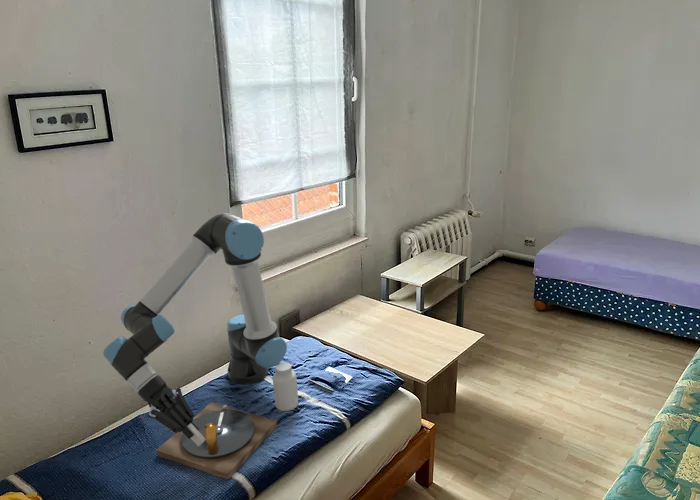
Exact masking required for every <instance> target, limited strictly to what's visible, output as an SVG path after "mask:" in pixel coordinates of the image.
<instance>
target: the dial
mask: <svg viewBox="0 0 700 500" xmlns="http://www.w3.org/2000/svg"><path fill="white" fill-rule="evenodd" d="M237 410H238V409H237ZM237 410H229V409H225V410H216V411H212V412H208V413H206V414H203V415H201V416H199V417H197V418H195V419H194V420H193V421H192V422H193V423H194V424H195V425H196V426H197V428H198V429H199V430H198V431H199V432H200V433H201V434H202V436H203V437H204V438H205V439H206V440H205V441H204V442H203V443H202V444H201V445H200V446H197V445H196V443H195V442H194V441H193V440H192V439H191V438H190V439H189V438H188V437H187V436H186V435H185V434H184V433H183V432H182V436H181V442H182V446H183V448H184V450H185V451H186V452H187V453H188V454H190V455H192V456H194V457H198V458H203V459H214V458H220V457H225V456H228V455H231V454H233V453H235V452H237V451H239V450H240V449H242V448H243V447H245V446H246V445H247V444H248V443H249V442H250V440H251V439H252V437H253V435H254V422H253V420H252V419H251V417H250V416H249V415H247V414H246V413H244V412H241V411H242V410H241V411H237Z"/></svg>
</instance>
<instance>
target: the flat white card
mask: <svg viewBox="0 0 700 500" xmlns="http://www.w3.org/2000/svg"><path fill="white" fill-rule="evenodd" d="M324 371H329V372H334V373H340V374H342V375H343V376H344V377H345V378H346V380H345V382H344V383H346V384H348V382H349V381H350V380H351V379H353V376H352V375H349V374H347V373H345V372H342V371H340V370H337V369H336V368H333V367H331V366H328V367H327V368H326V369H325V370H324ZM333 375H334V374H333ZM336 377H337V375H336ZM308 381H311V382H314V383H315V384H317V385H319V386H322V387H323V388H326V389H327V390H330V391H334V390H333V389H331V388H330V387H328V386H325V385H323V384H321V383H318V382H317V381H315V380H312V379H309V378H308Z"/></svg>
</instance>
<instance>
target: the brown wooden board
mask: <svg viewBox="0 0 700 500" xmlns="http://www.w3.org/2000/svg"><path fill="white" fill-rule="evenodd" d="M225 409H229V410H237V411H241V412H244V413H246V414H247V415H249V416H250V417H251V419H252V420H253V422H254V435H253V437H252V439H251V440H250V442H249V443H248V444H247V445H246V446H245V447H243V448H242V449H240V450H239V451H237V452H235V453H233V454H231V455H228V456H225V457H220V458H214V459H203V458H198V457H194V456H192V455H190V454H188V453H187V452H186V451H185V450H184V448H183V446H182V442H181V436H182V431H181V432H177V433H174V434H173V435H172V436H171V437H169V438H168V439H167V440H166V441H165V442H164V443H163V444H161V445H160V446H159V447H158V448H157V449H156V450H155V451H156V456H158V457H161V458H163V459H166V460H168V461H171V462H175V463H178V464H180V465H184V466H186V467H189V468H192V469H195V470H198V471H201V472H205V473H206V474H210V475H213V476H216V477H218V478H221V477H223V478H222V479H224V478H226V479H225V480H227V479H231V478H232V477H233V475H234V474H235V473H236V472H237V471H238V469H239V468H241V467H242V465H244V463H245V462H246V461H247V460H248V459H249V458H250V456H251V455H252V454H253V453H255V451H256V450H257V449H258V447H259V446H260V445H262V443H263V442H264V441H266V439H267V438H268V437H269V435H270V434H271V433H272V432H273V431H274V430H275V429H276V428H277V426H278V419H277V420H276V419H274V418H273V419H272V418H270V417H267V416H262V415H259V414H255V413H251V412H247V411H244V410H241V409H237V408H233V407H230V406H228V404H220V403H215V402H210V403H209V404H207V405H206V406H205V407H204V408H203V409H202V410H201V411H200V412H198V413H197V414H196V415H194V417H193V420H194V419H195V418H197V417H199V416H201V415H203V414H206V413H208V412H212V411H216V410H225Z"/></svg>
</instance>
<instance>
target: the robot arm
mask: <svg viewBox="0 0 700 500" xmlns="http://www.w3.org/2000/svg"><path fill="white" fill-rule="evenodd" d="M264 243H265V238H264V234H263V232H262V230H261V229H260V227H259V226H258V225H257V224H255V223H254V222H252V221H251V220H249V219H245V218H242V217H239V216H237V215H234V214H232V213H227V212H226V213H225V212H224V213H219V214H216V215H213V216H212V217H211V218H209V219H208V220H206V222H204V223H203V224H202V225H201V226H200V227H199V228H198V229H196V231H195V232H194V234H193V235H191V242H190V243H189V244H188V245H187V246H186V247H185V249H183V251H182V252H181V254H179V255H178V256H177V258H176V259H175V260H174V261H173V262H172V263H171V265H170V266H169V267H168V268H167V269H166V270H165V271H164V272H163V274H162V275H161V276H160V277H159V278H158V279H157V280H156V282H155V283H154V284H153V285H152V286H151V287H150V289H149V290H148V291H147V292H146V293H145V294H144V295H143V296H142V298H141V299H140V300H139V301H138V302H137V303H136V304H135V305H134V304H133V305H129V306H127V307H125V308H124V309H123V311H122V313H121V316H120V321H121V323H122V325H123V326H124V328H125V329H126V330H127V331H129V332H130V333H131V334H132V335H131V336H130V337H128V338H125V336H118V337H117V338H116V339H114V340H113V341H111V342H110V343H109V344H108V345H107V346H106V347H105V348H104V349H103V351H102V352H103V353H102V354H103V357H104V358H105V360H106V361H108V363H109V364H110V366H112V368H114V370H115V371H117V373H118V374H119V375H120V376H121V377H122V378H123V379H124V380H125V381H126V382H127V384H128V385H129V386H130V387H131V388H132V389H133V390H134V391H137V394H138V396H139V397H140V398H141V399H142V400H143V402H146V403H148V406H149V408H150V409H149V412H148V413H147V417H148V418H151V419H153V420H156V421H157V422H159V423H160V424H161V425H162V426H164V427H166V428H167V429H168V430H169V431H171V432H172V433H174V434H175V433H177V432H181V431H182V432H183V433H184V434H185V435H186V436H187V437H188V438H189V439H190V438H191V439H192V440H193V441H194V442H195V443H196V445H197V446H200V445H201V444H202V443H203V442H204V441H205V440H206V439H205V438H204V437H203V436H202V434H201V433H200V432H199V431H198V430H199V429H198V428H197V426H196V425H195V424H194V423H193V422H192V421H193V418H194V417H195V414H194V412H193V410H192V408H191V407H190V406H189V403H188V402H187V400H186V399H185V397H184V395H183V392H182V389H181V388H180V387H177V388H176V389H172V388H171V387H169V386H167V383H166V381H165V380H164V379H163V378H162V376H161V375H159V374H158V375H157V373H158V372H157V371H156V369H154V368H153V367H152V365H151V364H149V363H148V361H146V359H147V357H149V355H151V354H152V353H153V352H154V351H155V350H156V349H158V348H159V347H160V346H162V345H163V344H164V343H166V342H167V341H168V340H169V339H170V337H172V336H173V335H174V334H175V328H174V327H173V325H172V324H171V322H169V320H168V319H166V317H164V315H162V314H161V313H162V312H163V311H164V310H165V308H166V307H167V306H168V305H169V304H170V303H171V302H172V300H174V298H175V297H176V296H177V295H178V294H179V292H180V291H181V290H183V288H184V287H185V286H186V284H187V283H188V282H189V281H190V280H191V279H192V277H193V276H194V275H195V274H196V273H197V272H198V270H199V269H201V267H202V266H203V264H204V263H205V262H206V261H207V260H208V259H209V258H210V257H212V256H215V255H216V254H217V253H218V252H219V251H222V254H223V258H224V261H225V262H224V263H225V264H226V265H227V266H229V267H231V270H232V273H233V278H234V282H235V287H236V290H237V293H238V298H239V301H240V306H241V310H242V314H239V315H235V316H233V317H232V318H230V319H229V320H228V321H227V324H226V327H227V330H226V331H227V336H228V344H229V353H230V354H229V355H230V359H229V363H228V367H227V376H228V379H229V380H230V381H232V382H234V383H236V384H253V383H256V382H259V381H261V380H263V379H265V377H267V376H268V374H269V372H270V371H269V369H270V368H274V367H276V366H277V365H278V364H280V363H282V361H283V359H284V357H285V356H286V353H287V351H288V345H287V342H286V341H285V339H284V338H283V337H280V335H279V330H278V325H277V323H276V322H275V321H272V320H271V315H270V309H269V306H268V302H267V301H268V300H267V297H266V293H265V288H264V287H265V286H264V282H263V279H262V274H261V270H260V266H259V260H260V258H261V257H262V251H263V249H262V248H263V247H264Z"/></svg>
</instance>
